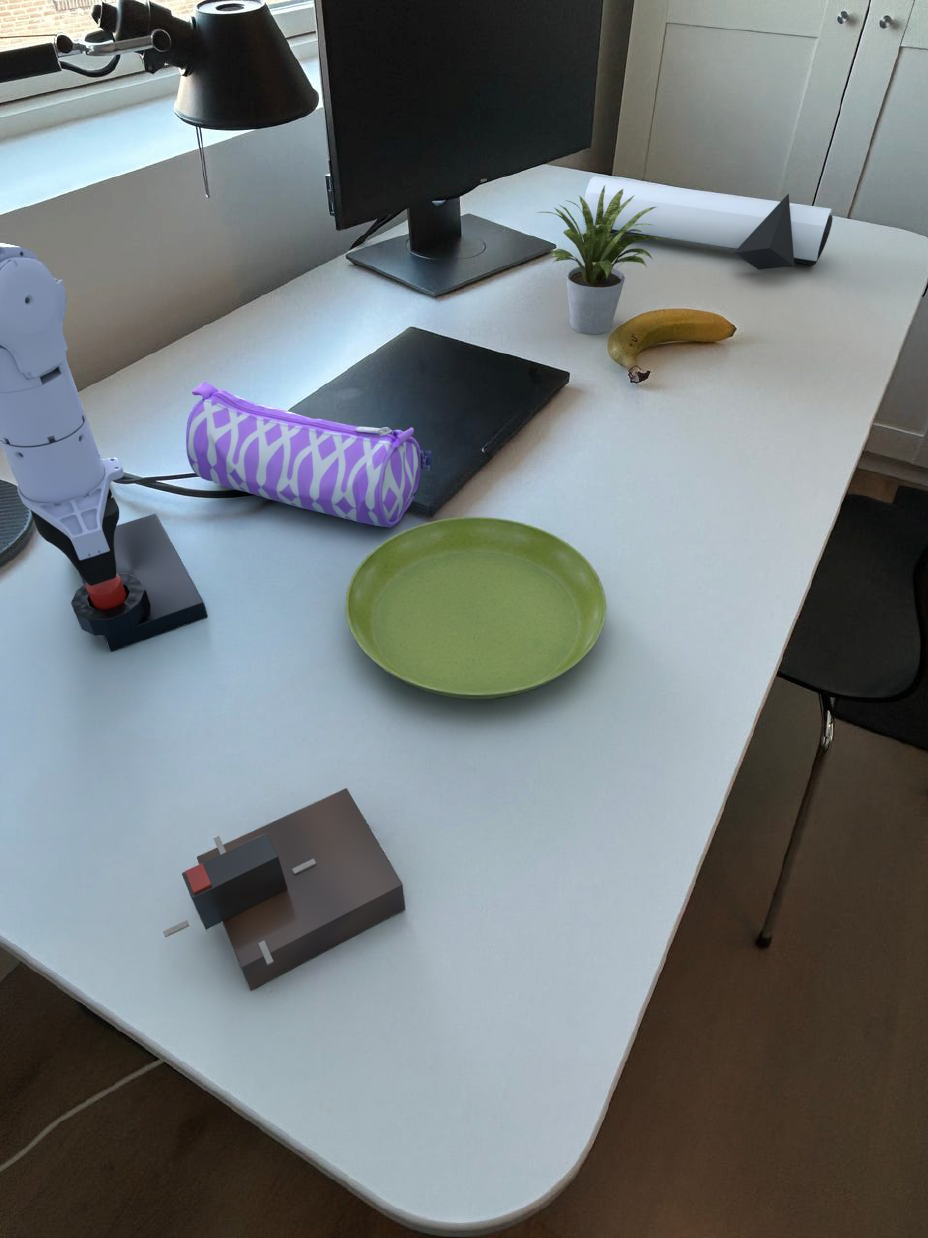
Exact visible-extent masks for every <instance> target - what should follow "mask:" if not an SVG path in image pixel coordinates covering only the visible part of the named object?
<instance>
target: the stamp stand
mask: <svg viewBox="0 0 928 1238" xmlns="http://www.w3.org/2000/svg"><path fill="white" fill-rule="evenodd" d="M265 833H267V834H268V836H269V838H270V840H271V842H272V844H273V846H274V848H275V850H276V852H277V854H278V857H279V860H280V864H281V867H282V871H283V874H284V878H285V881H286V884H287V889H286V890H284V891H282V892H280V893H278V894H276V895H274V896H272V897H270V898H268V899H266V900H264V901H262V902H260V903H258V904H256V905H254V906H252V907H251V908H249V909H247V910H245V911H243V912H241V913H239V914H237V915H235V916H233V917H231V918H229V919H227V920H225V921H223V922H222V925H223V927H224V929H225V932H226V934H227V937H228V939H229V942H230V945H231V947H232V949H233V952H234V954H235V957H236V959H237V962H238V964H239V966H240V969H241V971H242V974H243V977H244V979H245V981H246V984H247V986H248V989H249V990H250V992H252V991H253V990H256V989H258V988H259V987H261V986H263V985H265V984H267V983H269V982H271V981H272V980H274V979H276V978H278V977H280V976H282V975H284V974H286V973H288V972H289V971H291V970H294V969H295V968H297V967H299V966H301V965H303V964H305V963H307V962H308V961H311V960H313V959H314V958H316V957H318V956H320V955H322V954H324V953H325V952H327V951H329V950H331V949H333V948H335V947H338V946H339V945H341V944H343V943H344V942H346V941H348V940H350V939H352V938H354V937H357V936H358V935H360V934H362V933H364V932H365V931H368V930H369V929H371V928H373V927H375V926H377V925H379V924H380V923H383V922H385V921H386V920H388V919H390V918H392V917H394V916H396V915H398V914H400V913H401V912H403V911H405V910H406V903H405V901H406V900H405V894H404V885H403V882H402V880H401V879H400V877H399V875H398V874H397V872H396V870H395V869H394V867H393V865H392V863H391V862H390V859H389V858H388V857H387V855H386V853H385V851H384V850H383V847H382V846H381V844H380V843H379V841H378V839H377V837H376V836H375V834H374V832H373V831H372V829H371V827H370V825H369V824H368V822H367V820H366V819H365V817H364V815H363V813H362V812H361V809H360V808H359V807H358V804H357V803H356V801H355V800H354V798H353V796H352V794H351V793H350V791H349V789H348V788H347V787H345V788H343V789H341V790H338V791H336V792H335V793H333V794H330V795H328V796H326V797H324V798H321V799H319V800H317V801H315V802H312V803H311V804H308V805H306V806H305V807H302V808H300V809H298V810H295V811H293V812H291V813H289V814H287V815H285V816H282V817H279V818H278V819H275V820H274V821H271V822H269V823H267V824H265V825H262V826H260V827H258V828H255V829H254V830H252V831H250V832H247V833H245V834H243V835H241V836H239V837H236V838H235V839H232V840H230V841H228V842H226V843H224V844H223V842H222V839H221V837H220V835H218V836H215V837H213V840H214V844H215V846H216V847H215V848H212V849H210V850H208V851H206V852H204V853H201V854H199V855H197V856H196V860H197V862H198V865H199V864H201V863H204V862H206V861H208V860H210V859H212V858H215V857H217V856H219V855H221V854H223V853H225V852H227V851H229V850H231V849H233V848H236V847H238V846H240V845H242V844H244V843H246V842H248V841H250V840H252V839H254V838H257V837H259V836H261V835H263V834H265ZM189 927H190V923H189V920H188V919H186V920H184V921H182V922H180V923H177V924H176V925H174V926H171V927H170V928H167V929H165V930H163V931H162V933H163V936H164V937H165V939H166V938H168V937H170V936H172V935H174V934H177V933H178V932H180V931H182V930H184V929H187V928H189Z"/></svg>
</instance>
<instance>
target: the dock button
mask: <svg viewBox="0 0 928 1238" xmlns="http://www.w3.org/2000/svg"><path fill="white" fill-rule="evenodd" d="M86 589H87V591H88V594H89V596H90V599H91V601H92V604H93V605H94V607H96V608H97V609H100V610H106V609H110V608H113V607H116V606H119V605H120V604H121V603H123V602H124V601H125V599H126V592H125V590H124V587H123V584H122V581H121V579H120V577H119V576H118V575H117V574H116V577H115V578H114V579H111V580H108V581H105V582H102V583H99V584H96V585H93V586H90V585H89V584H88V583H87V584H86Z"/></svg>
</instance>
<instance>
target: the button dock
mask: <svg viewBox="0 0 928 1238" xmlns="http://www.w3.org/2000/svg"><path fill="white" fill-rule="evenodd" d="M114 551H115V560H116V574H117V575H118V576H119V577H120V579H121V581H122V584H123V587H124V590H125V592H126V599H125V601H124V602H123V603H121V604H120V605H119V606H116V607H113V608H110V609H106V610H100V609H97V608H96V607H94V605H93V604H92V601H91V599H90V596H89V594H88V591H87V589H86V584H87V582H86V581H85V580H84V579H83V578H82V576H81V575H80V574H79V577H80V579H81V582H82V584H83V585H82V586H81V587H79V588H77V590H75V593H74V595H73V597H72V600H71V601H70V604H71V607H72V609H73V612H74V614H75V617H76V620H77V622H78V624H79V627H80V629H81V630H82V631H83V632H86V633H88V634H91V635H93V636H94V637H95V636H96V637H101V636H102V637H103V636H104V639H105V642H106V644H107V646H108V649H109V651H110V652H111V653H112V652H115V651H117V650H120V649H123V648H125V647H129V646H131V645H133V644H134V645H135V644H137V643H139V642H140V643H141V642H142V641H145V640H148V639H151V638H154V637H156V636H158V635H159V636H160V635H162V634H165V633H167V632H171V631H172V630H173V631H174V630H175V629H178V628H181V627H184V626H186V625H190V624H192V623H196V622H197V621H200V620H203V619H206V618H208V617H209V615H208V612H207V609H206V605H205V602H204V600H203V598H202V596H201V595H200V593H199V591H198V589H197V587H196V585H195V583H194V582H193V580H192V578H191V576H190V574H189V572H188V570H187V568H186V567H185V564H184V563H183V561H182V559H181V558H180V556H179V553H178V552H177V550H176V548H175V546H174V545H173V542H172V541H171V538H170V536H169V535H168V533H167V531H166V530H165V528H164V526H163V524H162V522H161V519H159V516H158V514H157V513H152V514H149V515H146V516H143V517H139V518H136V519H132V520H129V521H127V522H124V523H121V524H120V523H119V524H117V525H116V529H115V534H114Z"/></svg>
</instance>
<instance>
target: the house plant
mask: <svg viewBox="0 0 928 1238" xmlns="http://www.w3.org/2000/svg"><path fill="white" fill-rule="evenodd" d="M604 193H605V186H604V187H603V189H602V192H601V194H600V198H599V202H598V208H597V215H596V221H595V225H594V224H593V217H592V214H591V212H590V209H589V207H588V205H587V203H586V202H585V201H584V198H583V197H582V196H580V195H579V202H580V205H581V206H582V207H580V206H579V205H578V204H577V203H575V202H573V201H570V200H566V199H565V201H566V202H568V203H571V204H573V205H575V206H576V207H577V208H578V209H579V210H580V211H581V213H582V217H583V216H584V219H585V223H586V225H585V230H586V232H584V233H581V230H580V227H579V225H578V223H577V222H576V220H575V218H574V217H573V216H572V214H571V213H570V211H569V210H568V208H566V206H563V205H561V204H559V206H560V207H561V208H562V209H563V210H565V212H566V213H567V215H568V216H569V217H568V216H567V215H566V214H565V213H564V212H563V211H562V210H560V209H557V208H556V207H554V210H555V211H556V213H555V212H551V211H537V213H545V214H553V215H555V216H558V217H559V218H560V219H561V220H562V221H563V222H564V223H565V224H566V225H567V227H568V229H565V230H564V231H563V232H562V233H563V235H565V237H567V238H568V239H569V240H570V241H571V242H572V243H573V244H574V245H575V247H576V248H577V250H578V252H579V254H580V256H581V259H582V261H583V263H584V265H583V264H582V263H581V261H580V260H579V259H578V258H577V257H575V256H574V255H573V254H572V253H571V252H569V251H568V250H566V249H563V248H557V249H555V250H554V251H553V253H552V255H551V256H550V257H549V259H552V258H555V259H554V260H553V261H552V263H555V262H556V263H557V262H561V261H575V262H577V265H578V266H576V267H574V268H571V269H569V270H568V271H567V274H566V286H567V299H568V310H569V322H570V327H571V328H572V330H574V331H576V332H578V333H581V334H584V335H601V334H604V333H607V332H609V331H610V330H611V329H612V327H613V322H614V319H615V315H616V311H617V308H618V305H619V302H620V297H621V294H622V290H623V287H624V283H625V279H626V277H625V275H624V273H623V272H622V271H621V270H619V269H617V267H616V268H615V267H614V266H615V265H616V264H618V263H620V264H619V265H618V267H620V266H621V265H622V264H623V263H638V264H639V263H640V264H641V265H644V266H645V267H646V268H648V266H647V265H646V263H645V261H644V259H643V258H642V257H640V256H638V255H645V256H647V257H649V258H650V259H651V260H652V261H654V259H653V257H652V255H651V254H650V252H648V251H647V250H646V249H644V248H639V247H638V248H637V247H636V248H630V249H626V248H627V247H628V246H630V245H632V244H634V243H637V242H641V241H650V240H657V241H666V238H661V237H652V236H645V235H636V234H632V235H628V236H625V235H626V233H628V232H631V231H637V232H642V231H640V230H637V229H632V230H629V231H627V230H628V229H629V228H630V227H632V226H637V225H651V224H643V223H641V224H634V223H635V222H636V221H637V220H638V219H639V218H640V217H641V216H642V215H643V214H645V213H646V212H648V211H650V210H652V209H654V208H656V207H651V208H648V209H645V210H643V211H641V212H640V213H638V214H637V215H635V216H634V217H633V218H632V219H631V220H630V221H629V222H627V223H626V224H625V225H624V226H623V227H622V228H621V230H620V231H619V232H615V233H614V232H611V230H612V227H613V225H614V222H615V220H616V218H617V216H618V215H619V213H620V212H621V211H622V209H623V208H624V207H625V206H626V205H627V204H628V203H629V202H630V201H631V199H632V198H633V197H634V196H635V195H634V196H632V197H631V198H630V199H628V200H627V201H626V202H624V203H623V204H622V205H621V206H620V199H621V197H622V195H623V189H622V190H620V191H619V192H618V193H617V194H616V195H615V196H614V197H613V199H612V200H611V202H610V204H609V206H608V208H607V210H606V212H605V214H604V216H603V213H604V209H603V199H604ZM581 208H582V209H581ZM569 218H570V219H571V220H570V219H569ZM585 223H584V224H585ZM633 224H634V225H633ZM626 231H627V232H626ZM625 232H626V233H625ZM623 236H625V237H623ZM625 249H626V250H625ZM631 253H635V254H633V255H629V256H625V255H626V254H631ZM623 256H624V257H623Z"/></svg>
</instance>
